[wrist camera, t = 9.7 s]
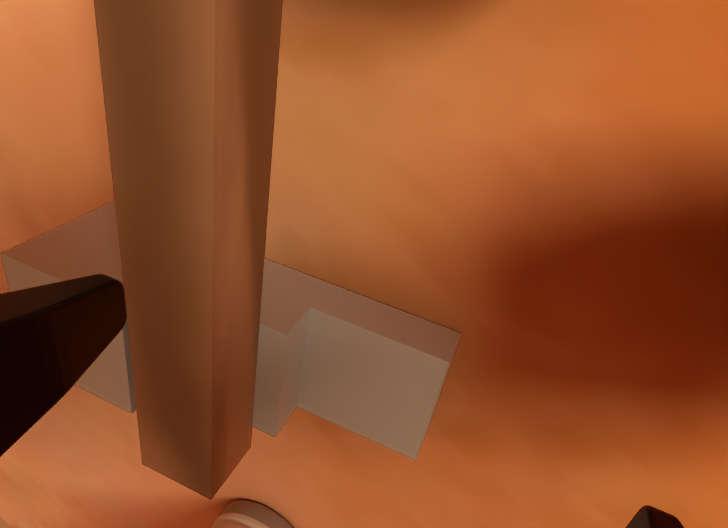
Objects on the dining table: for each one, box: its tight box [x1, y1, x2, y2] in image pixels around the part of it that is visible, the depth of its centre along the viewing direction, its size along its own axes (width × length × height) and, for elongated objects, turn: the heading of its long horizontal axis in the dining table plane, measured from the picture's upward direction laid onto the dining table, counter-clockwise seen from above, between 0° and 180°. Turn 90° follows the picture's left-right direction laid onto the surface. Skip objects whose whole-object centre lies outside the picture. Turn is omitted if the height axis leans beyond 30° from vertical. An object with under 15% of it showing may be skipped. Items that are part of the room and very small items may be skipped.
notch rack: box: [0, 201, 461, 461], centre depth 23 cm, size 18×6×6 cm, turn 81°
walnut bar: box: [94, 0, 283, 500], centre depth 16 cm, size 4×28×3 cm, turn 171°
